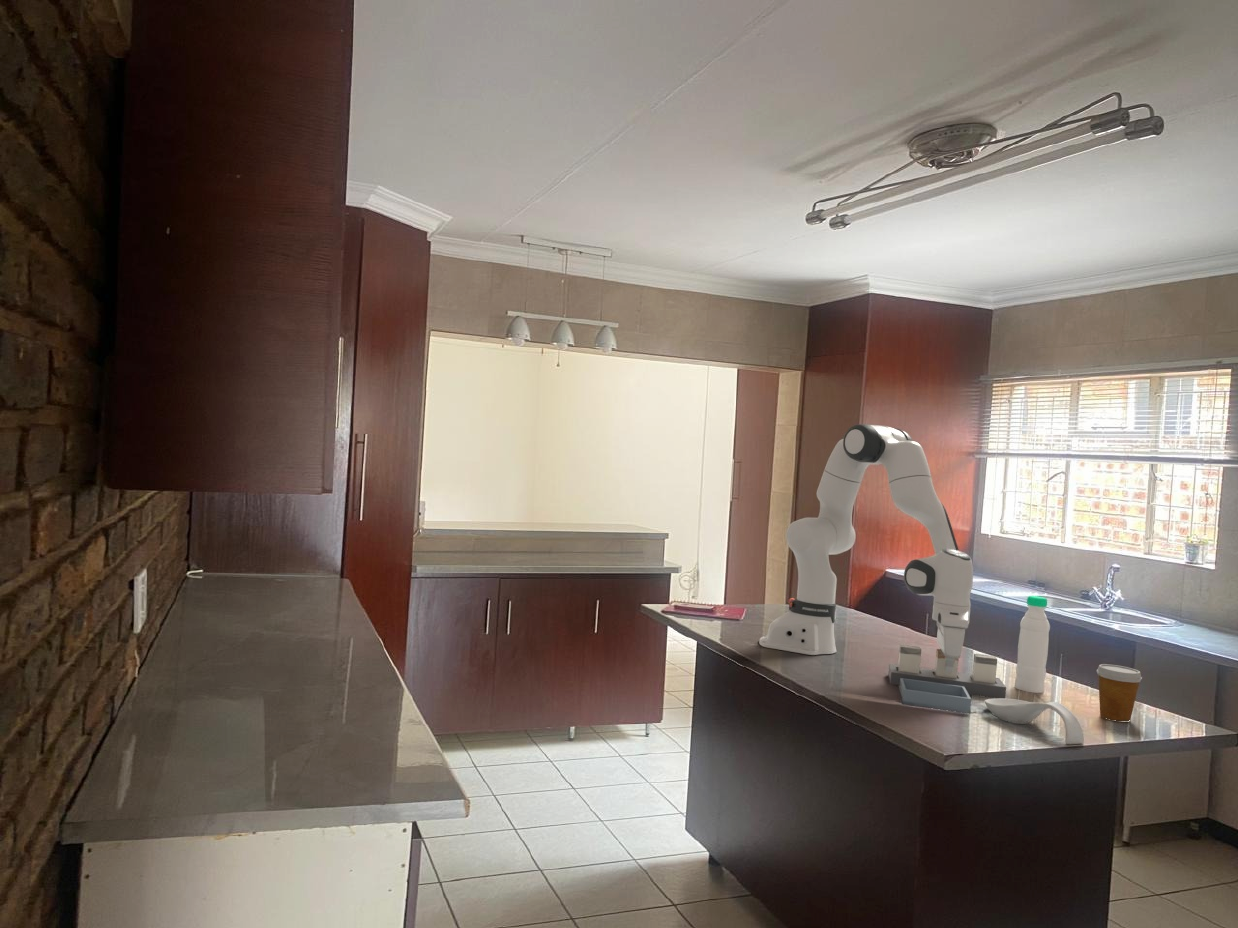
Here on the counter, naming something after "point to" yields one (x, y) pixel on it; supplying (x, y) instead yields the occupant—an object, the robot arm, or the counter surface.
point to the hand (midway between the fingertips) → (946, 668)
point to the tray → (934, 695)
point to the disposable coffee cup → (1117, 691)
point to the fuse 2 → (984, 668)
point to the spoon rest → (1035, 715)
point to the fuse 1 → (909, 658)
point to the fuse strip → (951, 681)
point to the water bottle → (1033, 647)
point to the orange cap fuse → (941, 666)
